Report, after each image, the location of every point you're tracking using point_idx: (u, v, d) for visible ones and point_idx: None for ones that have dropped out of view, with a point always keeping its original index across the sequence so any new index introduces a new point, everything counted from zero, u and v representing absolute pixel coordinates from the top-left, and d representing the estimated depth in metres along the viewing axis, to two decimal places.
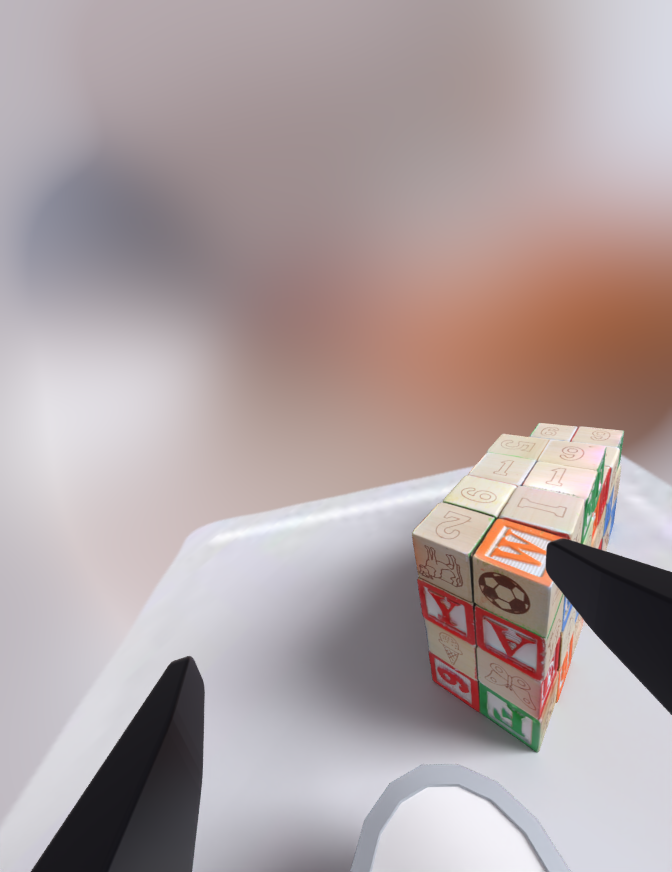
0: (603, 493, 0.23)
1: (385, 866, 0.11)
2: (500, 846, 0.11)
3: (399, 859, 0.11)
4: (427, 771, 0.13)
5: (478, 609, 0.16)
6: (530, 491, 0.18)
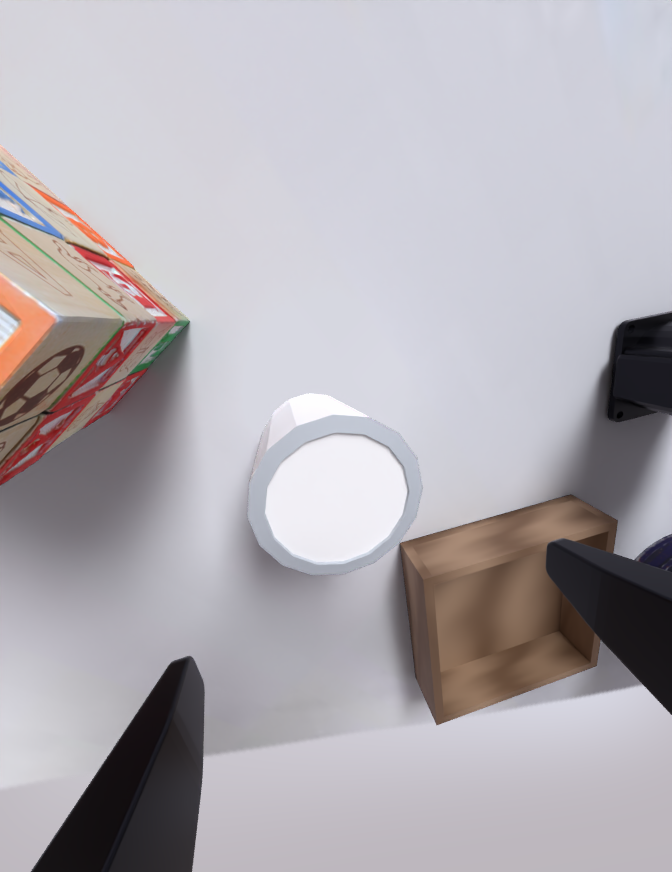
0: None
1: (310, 550, 0.14)
2: (309, 463, 0.12)
3: (308, 540, 0.13)
4: (253, 511, 0.13)
5: (55, 408, 0.08)
6: None
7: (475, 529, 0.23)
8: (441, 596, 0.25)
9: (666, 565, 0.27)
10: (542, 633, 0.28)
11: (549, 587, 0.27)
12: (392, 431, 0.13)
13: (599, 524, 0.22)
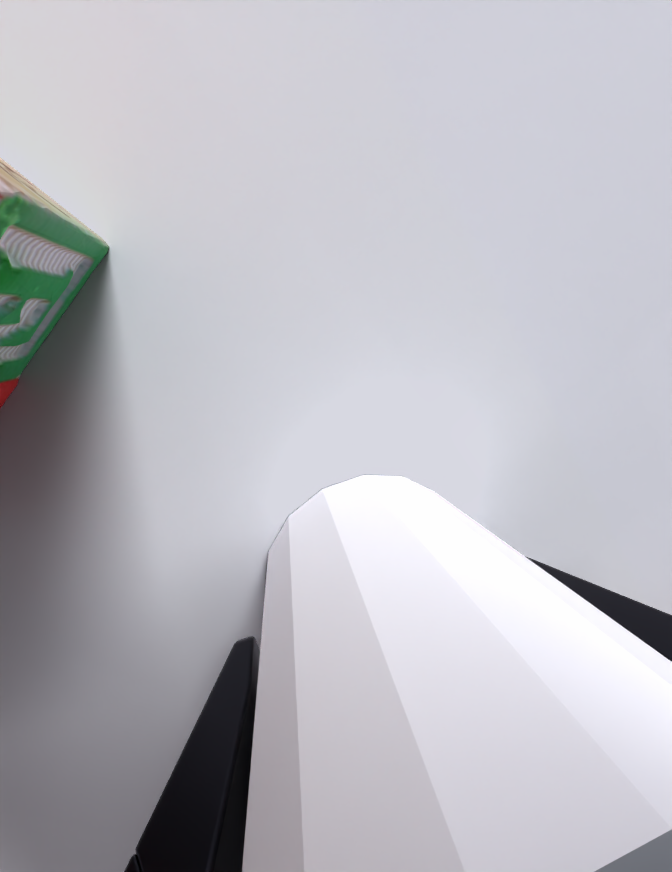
0: None
1: None
2: None
3: None
4: None
5: None
6: None
7: None
8: None
9: None
10: None
11: None
12: None
13: None
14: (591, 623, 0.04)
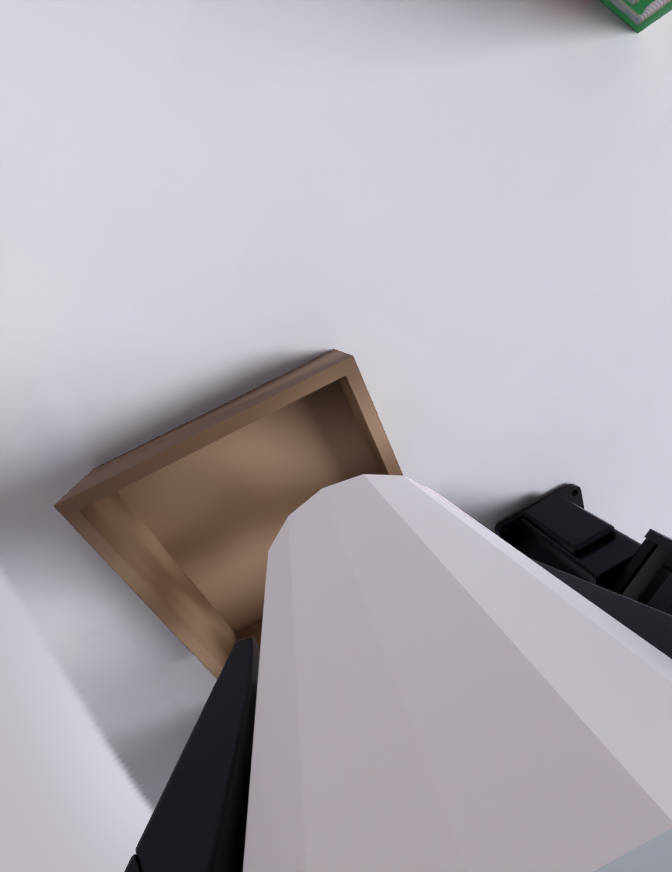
0: None
1: None
2: None
3: None
4: None
5: None
6: None
7: None
8: (269, 437, 0.18)
9: None
10: (228, 614, 0.20)
11: None
12: None
13: None
14: (592, 621, 0.04)
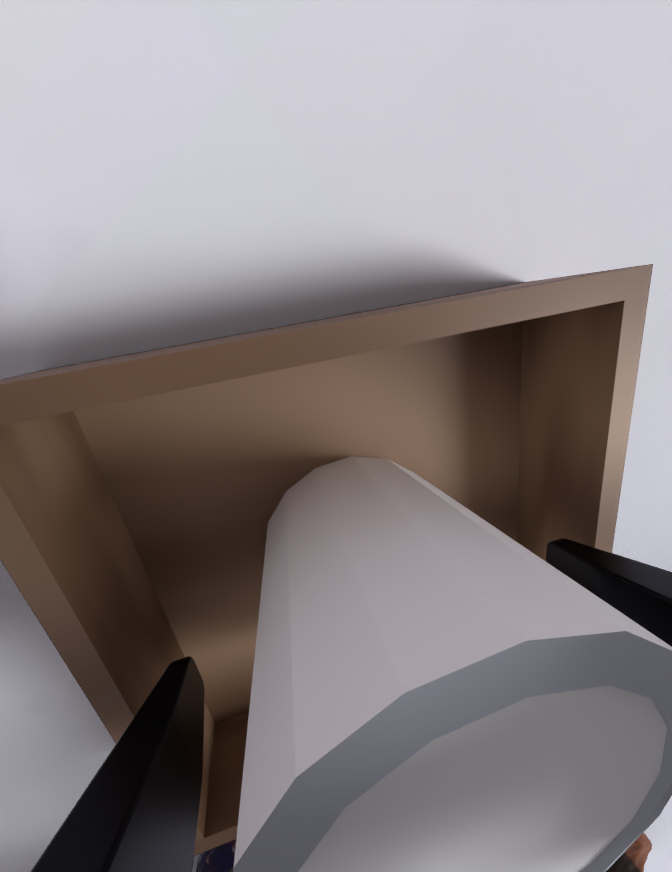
0: None
1: None
2: (429, 778, 0.04)
3: None
4: None
5: None
6: None
7: None
8: (385, 399, 0.10)
9: None
10: (212, 689, 0.12)
11: None
12: (670, 655, 0.04)
13: None
14: (515, 551, 0.05)
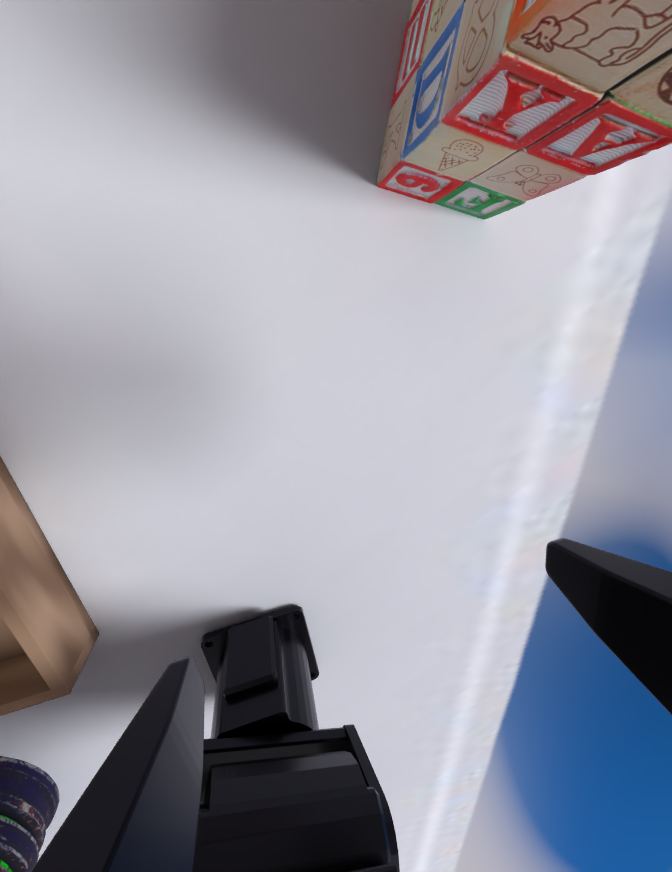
0: None
1: None
2: None
3: None
4: None
5: (608, 105, 0.09)
6: None
7: (25, 525, 0.17)
8: None
9: None
10: None
11: None
12: None
13: (59, 674, 0.17)
14: None
